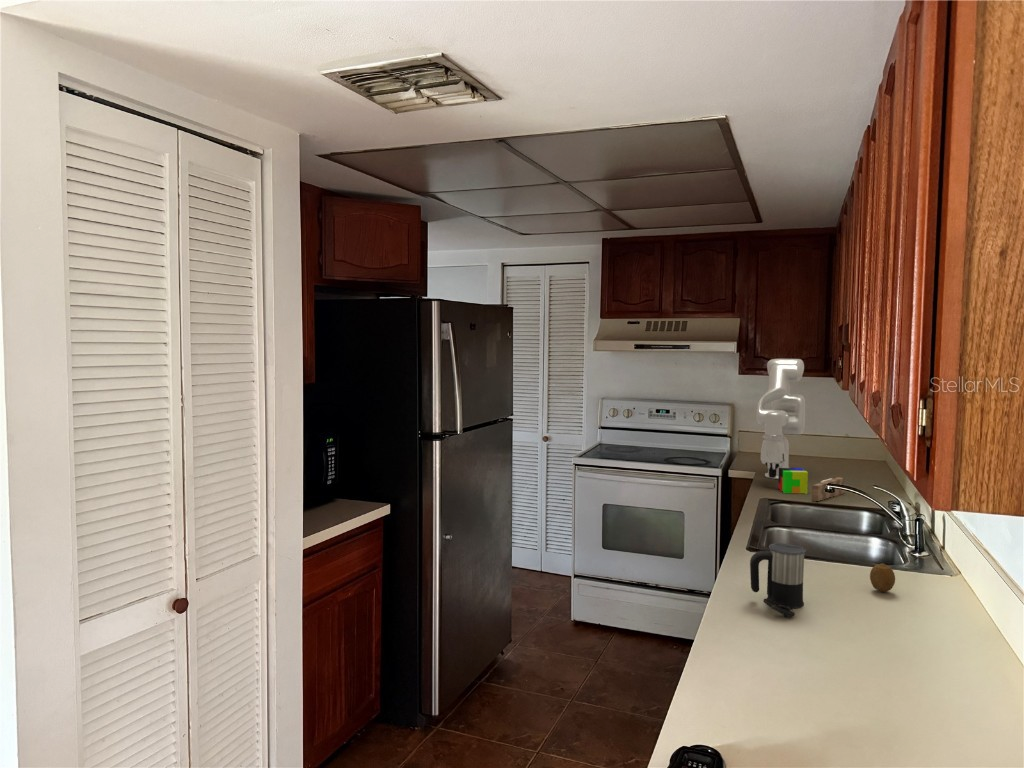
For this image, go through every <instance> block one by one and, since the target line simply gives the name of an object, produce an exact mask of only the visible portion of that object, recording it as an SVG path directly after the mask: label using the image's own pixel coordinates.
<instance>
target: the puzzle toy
mask: <svg viewBox="0 0 1024 768" xmlns="http://www.w3.org/2000/svg"><path fill="white" fill-rule="evenodd" d="M808 478H809V472H808V471H806V470H805V469H803V468H799V467H788V468H779V479H778V488H779V489H780V490H781V491H780V490H779V489H778V490H779V491H780V492H782V491H783V492H784V493H805V494H804V495H808V489H809V487H808V485H809V484H808V483H809V481H808V480H809V479H808ZM783 492H782V493H783ZM784 493H783V494H784Z"/></svg>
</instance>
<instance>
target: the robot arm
mask: <svg viewBox="0 0 1024 768" xmlns="http://www.w3.org/2000/svg"><path fill="white" fill-rule="evenodd" d="M766 365H767V366H766V367H767V368H766V369H767V373H768V376H769V380H768V390H767V392H765V393H764V394H763V395H762V396H761V397H760V399H759V400H758V402H757V405H756V406H757V407H756V418H755V419H756V422H757V424H758V425H761V426H764V434H762V435H761V437H762V438H764V440H762V444H761V448H760V461H761V464H763V465H765V466H766V467H767V470H768V471H767V472H765V473H764V477H765V478H769V479H774V480H776V479H777V480H779V468H789V457H790V456H789V455H790V451H789V450H790V449H789V448H790V443H789V441H788V438H787V437H786V436H785V435H802V434H803V433H804V431H805V427H806V400H805V397H804V395H802V394H797V393H796V394H794V393H793V394H791V385H790V382H800V381H801V380H802V378H803V374H804V371H805V363H804V361H803V360H802V359H800V358H773V359H770V360H769V361H768V362H767V364H766ZM769 403H771V409H764V408H765V406H766V405H767V404H769ZM789 414H790V415H789ZM792 414H794V415H792Z"/></svg>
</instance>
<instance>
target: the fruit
mask: <svg viewBox="0 0 1024 768" xmlns="http://www.w3.org/2000/svg"><path fill="white" fill-rule="evenodd" d="M869 580H870V583H871V585H872V587H873V589H875V590H876V591H879V592H880V593H886V592H889V591H891V590H892V589H893V588H894V585H895V583H896V575H895V572H894V570H893V568H892V567H891V566H889V565H886V564H885V563H880V564H879V563H878V564H875V565H874V566H873V567H872V568H871V570H870V573H869Z"/></svg>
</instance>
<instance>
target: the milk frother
mask: <svg viewBox="0 0 1024 768" xmlns="http://www.w3.org/2000/svg"><path fill="white" fill-rule="evenodd" d="M768 548H769V550H760V551H757V552H755V553H754V554H753V555H752V556H751V557H750V560H749V562H750V563H749V568H750V569H749V571H750V572H749V573H750V588H751V590H752V592H754V593H758V592H759V591H760V572H759V571H760V562H762V561H767V578H766V579H767V581H766V594H767V597H766V598H764V599H763V600H762V601H763V603H764V604H765V605H766V606H768V607H770V608H771V609H773V610H775V611H777V612H778V613H779V614H780V615H783V616H784V617H785V618H787V616H790V617H794V616H795V614H796V613H795V612H796V611H794V610H793V609H796V608H801V607H803V606H804V605H805V603H804V572H805V569H804V567H805V553H806V551H807V549H806V548H804V547H802V546H801V545H800V546H799V545H797V544H796V545H795V544H791V543H783V542H781V543H778V542H777V543H771V544H769V545H768Z"/></svg>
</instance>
